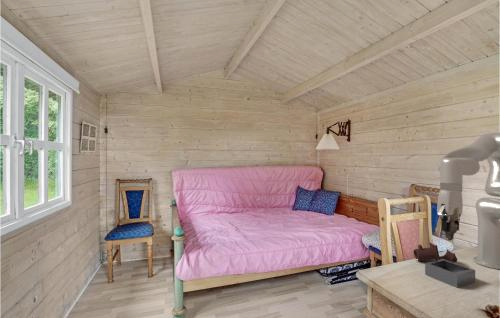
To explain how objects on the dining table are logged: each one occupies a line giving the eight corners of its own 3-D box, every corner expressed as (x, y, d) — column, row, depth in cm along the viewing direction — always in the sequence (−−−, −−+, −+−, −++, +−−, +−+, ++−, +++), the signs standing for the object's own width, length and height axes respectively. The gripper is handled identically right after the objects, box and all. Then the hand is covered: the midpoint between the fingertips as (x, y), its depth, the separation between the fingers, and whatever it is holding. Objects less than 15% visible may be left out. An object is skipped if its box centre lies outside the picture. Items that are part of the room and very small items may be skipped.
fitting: (442, 269, 118) (442, 258, 118) (475, 282, 107) (475, 269, 107) (425, 274, 114) (425, 263, 113) (457, 287, 102) (457, 275, 102)
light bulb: (461, 242, 108) (462, 205, 108) (452, 243, 107) (452, 206, 106) (447, 237, 114) (448, 203, 113) (438, 239, 112) (438, 204, 112)
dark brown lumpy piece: (460, 264, 121) (456, 242, 122) (420, 267, 125) (416, 247, 125) (453, 259, 127) (449, 238, 128) (415, 262, 131) (411, 242, 131)
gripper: (453, 185, 117) (452, 226, 117) (428, 187, 110) (427, 230, 110) (473, 187, 110) (472, 230, 110) (448, 189, 103) (447, 235, 103)
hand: (450, 230), depth 110 cm, fingers closed on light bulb, 5 cm apart
